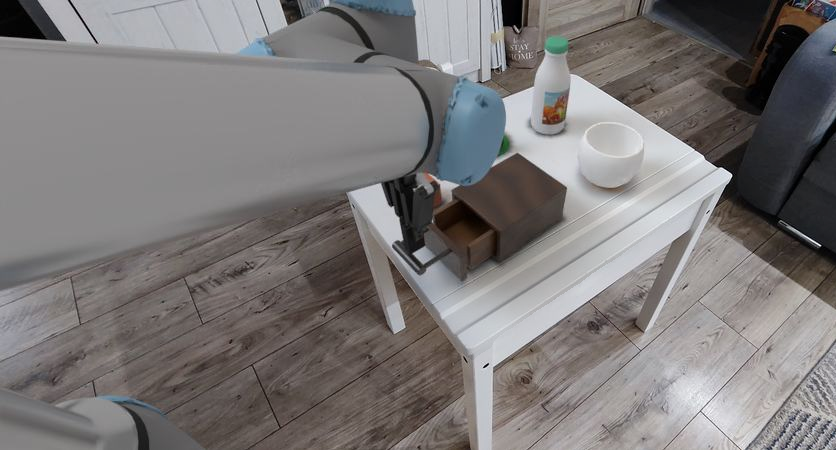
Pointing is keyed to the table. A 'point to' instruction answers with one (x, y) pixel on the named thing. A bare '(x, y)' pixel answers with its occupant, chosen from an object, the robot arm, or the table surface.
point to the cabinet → (515, 202)
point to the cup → (610, 154)
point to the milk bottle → (551, 88)
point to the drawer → (454, 240)
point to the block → (438, 194)
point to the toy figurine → (504, 145)
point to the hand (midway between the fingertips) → (415, 247)
